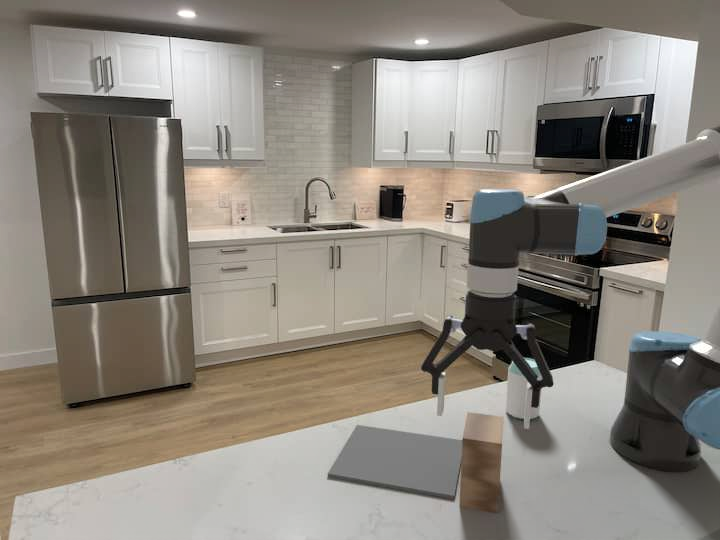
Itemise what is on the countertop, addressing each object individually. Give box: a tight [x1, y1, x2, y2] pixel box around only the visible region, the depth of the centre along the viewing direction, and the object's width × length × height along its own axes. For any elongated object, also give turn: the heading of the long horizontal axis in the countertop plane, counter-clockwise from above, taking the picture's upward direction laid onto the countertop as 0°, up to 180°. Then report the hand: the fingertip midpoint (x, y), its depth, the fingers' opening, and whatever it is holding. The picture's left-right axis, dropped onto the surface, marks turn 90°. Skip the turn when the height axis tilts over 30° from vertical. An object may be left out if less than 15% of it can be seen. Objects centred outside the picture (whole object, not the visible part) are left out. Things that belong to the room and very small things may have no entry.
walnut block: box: [458, 411, 505, 514], centre depth 87 cm, size 6×9×12 cm, turn 164°
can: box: [505, 357, 542, 420], centre depth 114 cm, size 7×7×12 cm
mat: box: [327, 424, 462, 500], centre depth 97 cm, size 22×18×1 cm
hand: (482, 418), depth 85 cm, fingers open, 13 cm apart
